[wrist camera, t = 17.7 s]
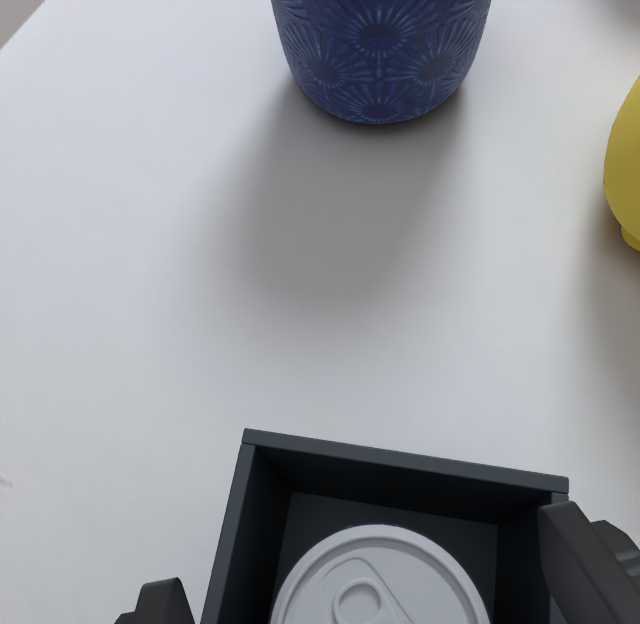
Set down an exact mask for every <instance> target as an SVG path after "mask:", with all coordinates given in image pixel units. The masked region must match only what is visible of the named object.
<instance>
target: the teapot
mask: <svg viewBox="0 0 640 624" xmlns="http://www.w3.org/2000/svg"><path fill="white" fill-rule="evenodd" d="M603 184H604V190H605V195H606V198H607V201H608V203H609V205H610V208H611V210H612V212H613V214H614V216H615V217H616V219H617V220H618V221H619V223H620V224H621V225H622V228H621V232H622V236H623V238H624V240H625V241H626V243H627V244H628V245H630V246H631V247H632V248H634V249H635V250H638V251H640V76H639V77H638V79H637V80H636V82H635V83H634V85H633V86H632V88H631V90H630V92H629V94H628V95H627V97H626V99H625V101H624V103H623V105H622V106H621V108H620V110H619V112H618V114H617V117H616V119H615V121H614V124H613V126H612V130H611V133H610V137H609V141H608V146H607V152H606V157H605V164H604V177H603Z"/></svg>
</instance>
